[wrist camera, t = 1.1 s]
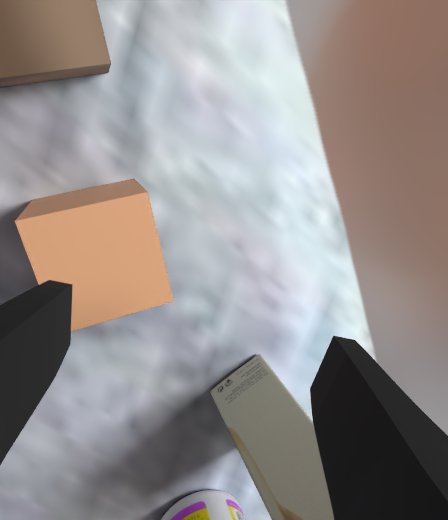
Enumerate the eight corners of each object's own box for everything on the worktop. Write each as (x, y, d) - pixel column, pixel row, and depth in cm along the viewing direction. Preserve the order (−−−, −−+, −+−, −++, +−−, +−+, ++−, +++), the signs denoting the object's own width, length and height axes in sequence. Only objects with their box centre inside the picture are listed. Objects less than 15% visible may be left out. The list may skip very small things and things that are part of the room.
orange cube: (64, 290, 20) (57, 335, 16) (32, 199, 19) (14, 221, 14) (155, 266, 22) (173, 301, 17) (134, 178, 20) (147, 192, 15)
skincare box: (206, 389, 25) (297, 588, 14) (259, 350, 26) (387, 513, 15) (251, 443, 28) (357, 643, 17) (298, 406, 28) (431, 579, 17)
